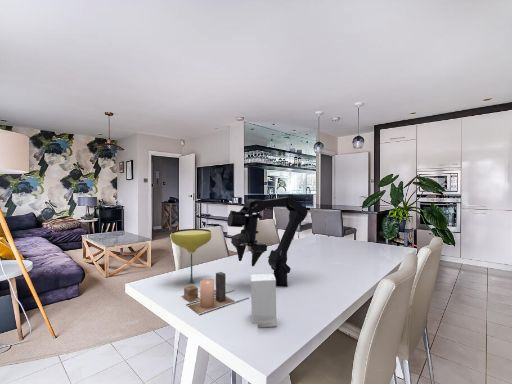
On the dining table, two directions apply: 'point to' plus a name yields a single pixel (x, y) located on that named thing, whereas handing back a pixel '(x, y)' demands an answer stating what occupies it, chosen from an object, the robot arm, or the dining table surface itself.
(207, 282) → the terracotta cylinder
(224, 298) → the tan wooden baseplate
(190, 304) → the lane rails
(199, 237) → the cocktail glass
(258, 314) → the skincare box
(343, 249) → the dining table surface
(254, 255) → the robot arm
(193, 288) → the walnut cube
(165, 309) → the dining table surface
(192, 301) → the broken strip
